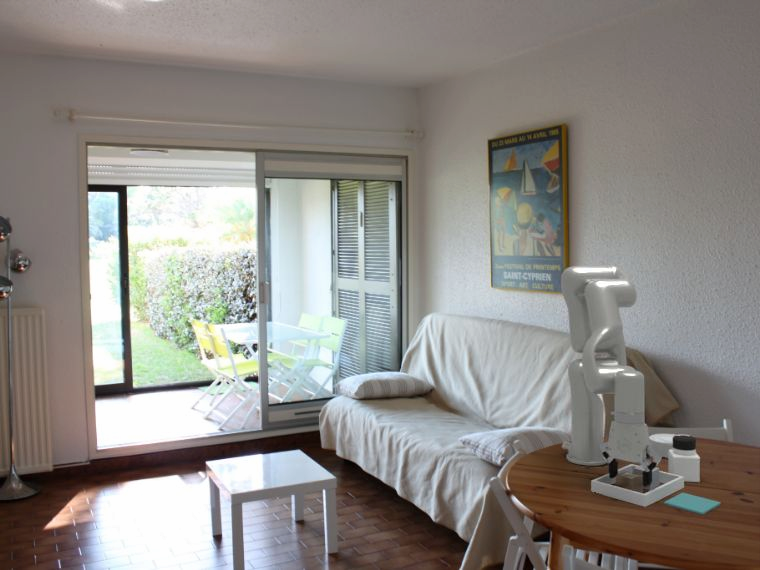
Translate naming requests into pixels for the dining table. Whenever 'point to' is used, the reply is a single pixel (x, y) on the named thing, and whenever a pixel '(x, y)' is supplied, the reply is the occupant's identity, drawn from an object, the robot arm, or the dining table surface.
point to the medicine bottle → (684, 458)
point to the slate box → (655, 476)
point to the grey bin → (606, 488)
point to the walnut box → (630, 481)
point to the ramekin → (662, 443)
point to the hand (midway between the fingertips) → (629, 481)
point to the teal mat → (692, 503)
